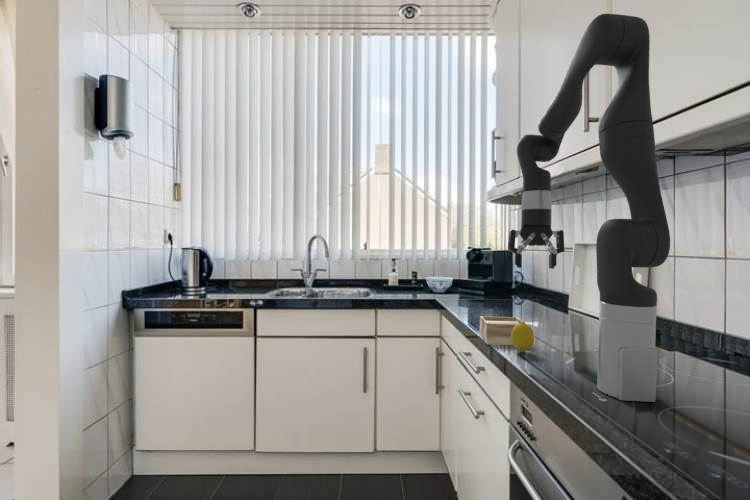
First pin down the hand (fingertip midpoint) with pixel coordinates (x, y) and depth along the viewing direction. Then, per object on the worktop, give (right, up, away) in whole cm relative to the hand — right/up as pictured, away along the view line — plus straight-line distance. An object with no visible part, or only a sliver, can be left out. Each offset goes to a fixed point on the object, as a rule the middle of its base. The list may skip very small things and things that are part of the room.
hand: (535, 268), depth 110 cm
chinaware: (-8, -19, +116) cm, 118 cm away
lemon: (-6, -22, -6) cm, 23 cm away
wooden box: (-7, -22, +7) cm, 24 cm away
